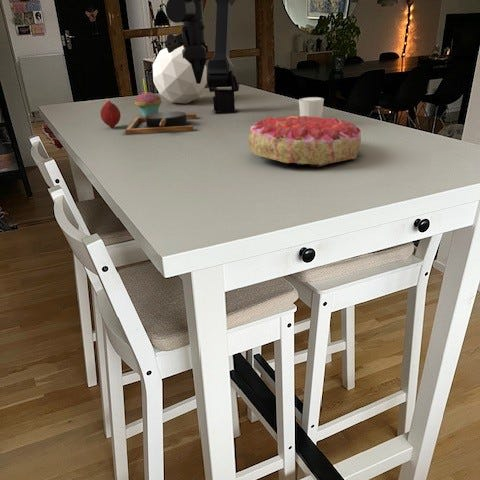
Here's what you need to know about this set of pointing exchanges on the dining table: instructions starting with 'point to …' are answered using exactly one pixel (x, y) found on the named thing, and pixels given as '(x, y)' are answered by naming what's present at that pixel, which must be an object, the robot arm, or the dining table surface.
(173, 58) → the geometric orb
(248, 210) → the dining table surface
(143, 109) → the cupcake
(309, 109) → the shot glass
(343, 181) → the dining table surface
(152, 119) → the pan
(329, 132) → the cake
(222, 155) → the dining table surface
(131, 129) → the pan rest
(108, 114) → the onion
